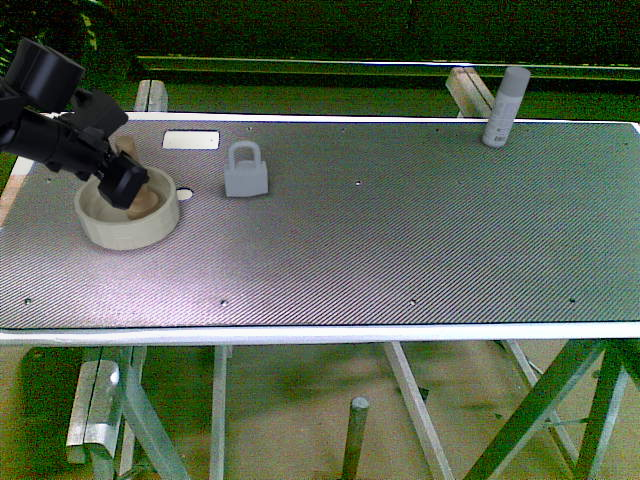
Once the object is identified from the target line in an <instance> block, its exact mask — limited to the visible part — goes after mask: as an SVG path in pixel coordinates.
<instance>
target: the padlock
mask: <svg viewBox="0 0 640 480" xmlns="http://www.w3.org/2000/svg"><path fill="white" fill-rule="evenodd" d="M243 148H248V149H251V150H252V152H253V160H246V159H245V160H239V161H236V158H235V153H236V150H239V149H243ZM226 156H227V163H223V165H222V169H223V177H224V186H225V196H226V197H228V198H229V197H233V198H234V197H237V198H238V197H240V198H248V197H253V196H259V195H263V194H268V193H269V184H268V183H269V182H268V181H269V180H268V168H267V167H268V166H267V163H266V161H265V160H262V157H261V148H260V146H259V145H258V144H257V143H256V142H254V141H252V140H246V139H245V140H238V141H234V142H233V143H231V144H230V145H229V147H228V149H227V155H226Z"/></svg>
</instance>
